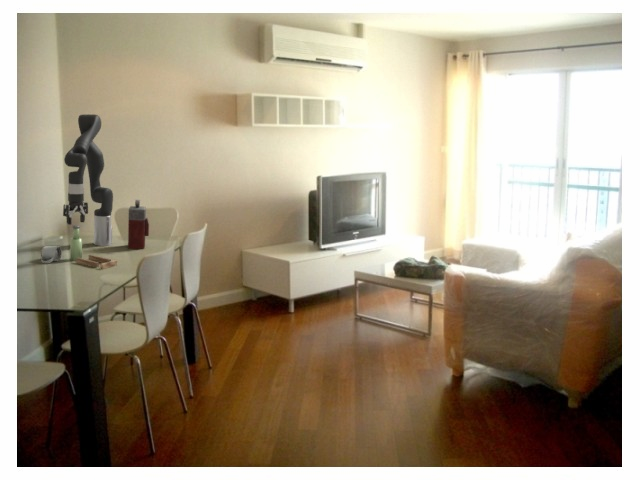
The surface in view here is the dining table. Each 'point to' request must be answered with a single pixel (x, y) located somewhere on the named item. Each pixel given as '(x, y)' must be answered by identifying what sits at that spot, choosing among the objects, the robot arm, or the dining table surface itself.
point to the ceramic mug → (51, 254)
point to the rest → (105, 262)
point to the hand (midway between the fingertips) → (75, 223)
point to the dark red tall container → (137, 226)
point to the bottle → (75, 244)
